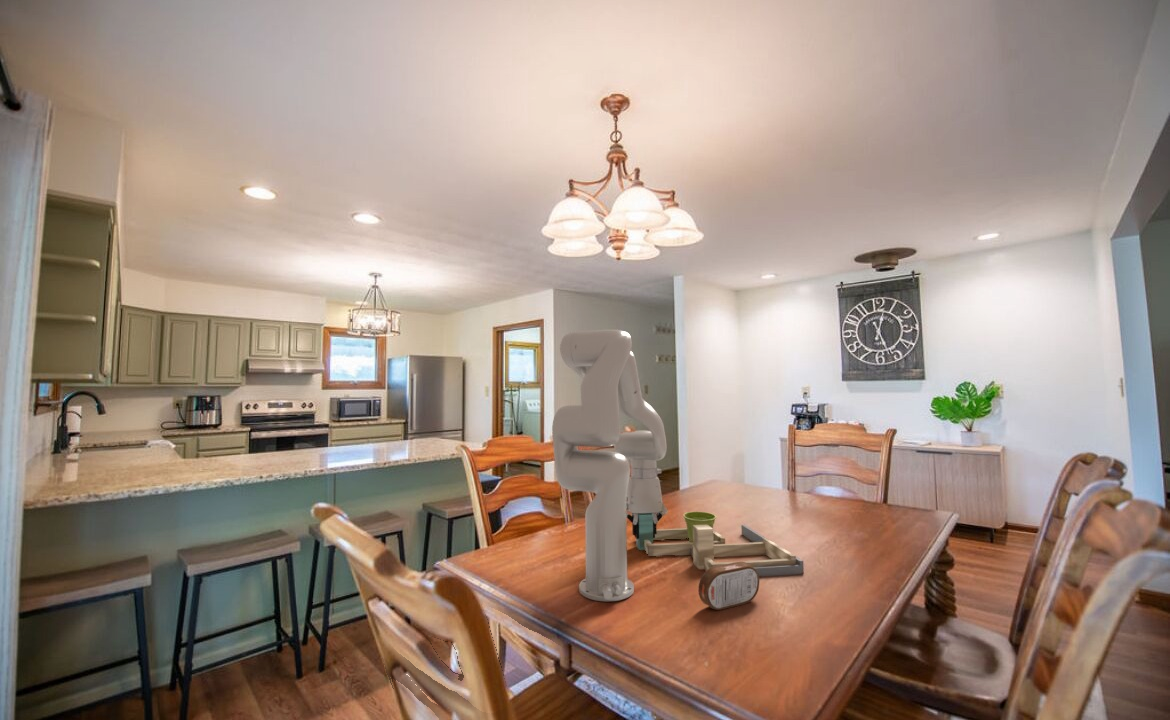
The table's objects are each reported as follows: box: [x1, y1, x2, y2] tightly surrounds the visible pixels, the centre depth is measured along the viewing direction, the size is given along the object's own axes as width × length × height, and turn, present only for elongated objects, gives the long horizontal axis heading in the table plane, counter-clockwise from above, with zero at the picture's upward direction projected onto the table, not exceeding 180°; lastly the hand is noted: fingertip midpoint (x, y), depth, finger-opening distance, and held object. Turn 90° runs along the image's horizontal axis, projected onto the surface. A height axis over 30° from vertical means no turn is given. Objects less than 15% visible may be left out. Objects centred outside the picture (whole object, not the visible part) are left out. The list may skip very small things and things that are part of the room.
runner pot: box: [635, 513, 726, 557], centre depth 140 cm, size 14×23×10 cm, turn 97°
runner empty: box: [691, 525, 797, 572], centre depth 126 cm, size 14×23×10 cm, turn 97°
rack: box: [690, 524, 805, 577], centre depth 133 cm, size 32×23×3 cm
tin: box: [698, 560, 760, 611], centre depth 102 cm, size 15×3×8 cm, turn 115°
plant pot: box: [682, 511, 717, 542], centre depth 141 cm, size 9×9×9 cm
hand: (644, 536), depth 139 cm, fingers closed on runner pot, 4 cm apart
